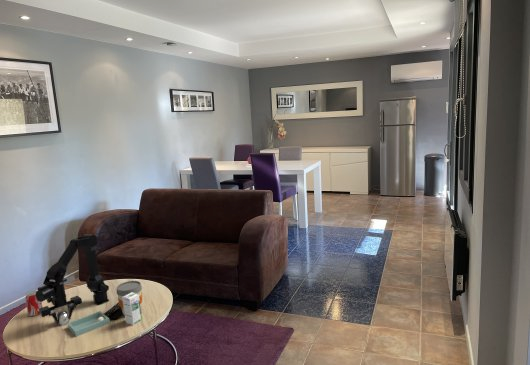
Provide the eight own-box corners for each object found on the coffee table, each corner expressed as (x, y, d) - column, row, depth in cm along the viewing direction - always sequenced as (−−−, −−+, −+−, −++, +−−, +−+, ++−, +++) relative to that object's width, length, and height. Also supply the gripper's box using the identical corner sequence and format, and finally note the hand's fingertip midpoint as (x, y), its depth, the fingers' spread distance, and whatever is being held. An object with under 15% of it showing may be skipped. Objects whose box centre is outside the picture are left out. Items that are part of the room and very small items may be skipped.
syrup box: (133, 326, 195) (129, 298, 192) (125, 323, 198) (121, 296, 195) (142, 321, 199) (139, 293, 197) (134, 318, 202) (131, 291, 200)
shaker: (67, 320, 205) (65, 308, 204) (70, 324, 202) (68, 311, 200) (57, 324, 202) (55, 312, 201) (60, 327, 198) (58, 315, 197)
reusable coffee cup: (134, 319, 201) (130, 291, 199) (114, 317, 206) (110, 289, 203) (149, 308, 213) (146, 281, 210) (130, 305, 217) (126, 279, 215)
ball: (103, 320, 201) (102, 314, 201) (105, 323, 199) (104, 317, 198) (96, 323, 199) (95, 317, 198) (99, 325, 197) (98, 319, 196)
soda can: (36, 317, 211) (32, 296, 209) (25, 317, 213) (21, 295, 211) (46, 310, 218) (42, 290, 216) (35, 310, 220) (31, 290, 218)
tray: (101, 316, 207) (100, 310, 207) (110, 324, 198) (109, 318, 198) (68, 329, 197) (67, 323, 196) (76, 337, 188) (75, 331, 187)
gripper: (73, 282, 211) (77, 309, 214) (33, 294, 199) (38, 323, 201) (80, 288, 203) (84, 316, 205) (39, 301, 190) (44, 331, 193)
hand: (63, 321), depth 202 cm, fingers open, 5 cm apart
